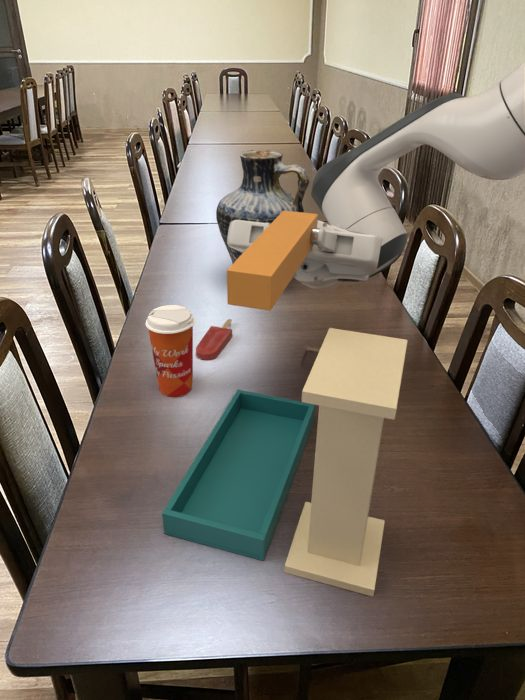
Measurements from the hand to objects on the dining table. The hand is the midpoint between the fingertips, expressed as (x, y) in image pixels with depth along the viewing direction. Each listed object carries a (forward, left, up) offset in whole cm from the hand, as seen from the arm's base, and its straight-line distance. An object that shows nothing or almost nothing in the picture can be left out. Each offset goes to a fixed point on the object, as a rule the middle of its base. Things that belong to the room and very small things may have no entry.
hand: (292, 232), depth 64 cm
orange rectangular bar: (+2, +6, -2) cm, 7 cm away
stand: (-5, +20, -32) cm, 38 cm away
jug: (+3, -56, -32) cm, 65 cm away
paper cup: (+18, -13, -32) cm, 39 cm away
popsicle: (+12, -29, -32) cm, 45 cm away
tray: (+5, +7, -32) cm, 33 cm away
